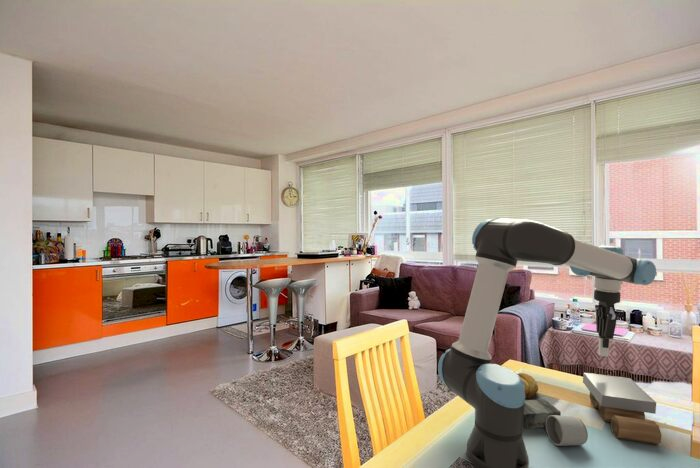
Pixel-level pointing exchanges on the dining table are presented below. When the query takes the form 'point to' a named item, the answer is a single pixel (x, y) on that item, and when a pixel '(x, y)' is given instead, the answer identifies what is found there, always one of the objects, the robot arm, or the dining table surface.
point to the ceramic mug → (566, 430)
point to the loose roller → (635, 429)
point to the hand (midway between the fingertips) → (603, 355)
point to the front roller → (619, 413)
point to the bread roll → (529, 385)
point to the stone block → (538, 413)
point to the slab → (618, 393)
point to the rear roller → (594, 401)
